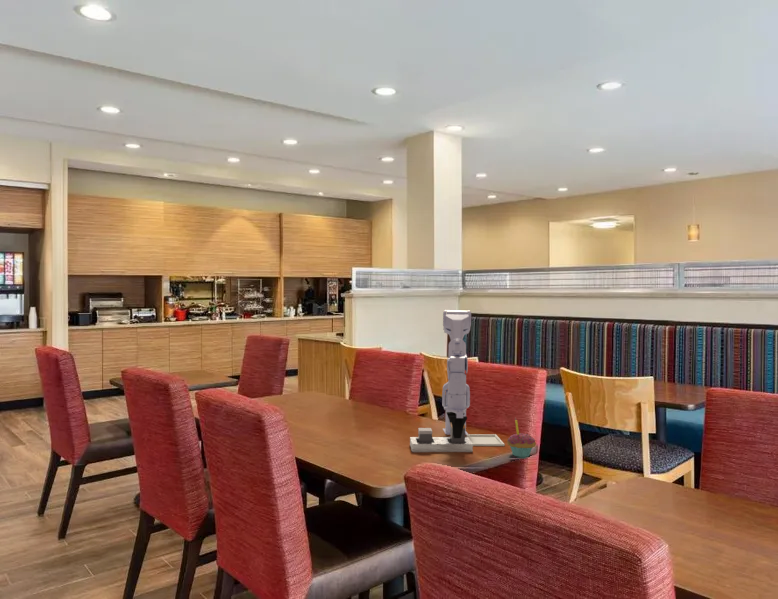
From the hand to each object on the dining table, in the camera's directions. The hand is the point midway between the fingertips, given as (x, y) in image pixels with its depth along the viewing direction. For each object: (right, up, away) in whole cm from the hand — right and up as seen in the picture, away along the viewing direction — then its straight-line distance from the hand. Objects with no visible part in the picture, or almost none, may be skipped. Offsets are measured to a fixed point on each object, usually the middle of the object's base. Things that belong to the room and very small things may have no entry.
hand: (456, 436), depth 195 cm
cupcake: (+19, -5, -7) cm, 21 cm away
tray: (+11, -4, +10) cm, 15 cm away
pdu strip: (-5, -4, 0) cm, 7 cm away
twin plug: (-10, -4, 0) cm, 11 cm away
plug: (0, -2, 0) cm, 2 cm away
